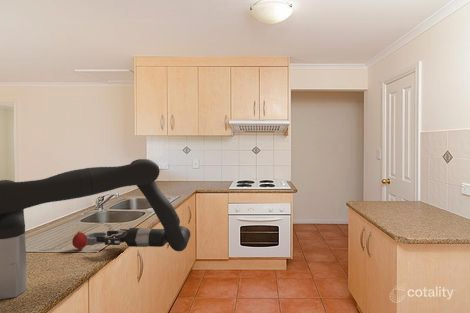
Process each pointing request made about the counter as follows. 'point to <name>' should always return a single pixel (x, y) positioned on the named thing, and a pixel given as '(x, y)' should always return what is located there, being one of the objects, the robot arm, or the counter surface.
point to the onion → (80, 240)
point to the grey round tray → (93, 237)
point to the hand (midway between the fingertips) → (102, 236)
